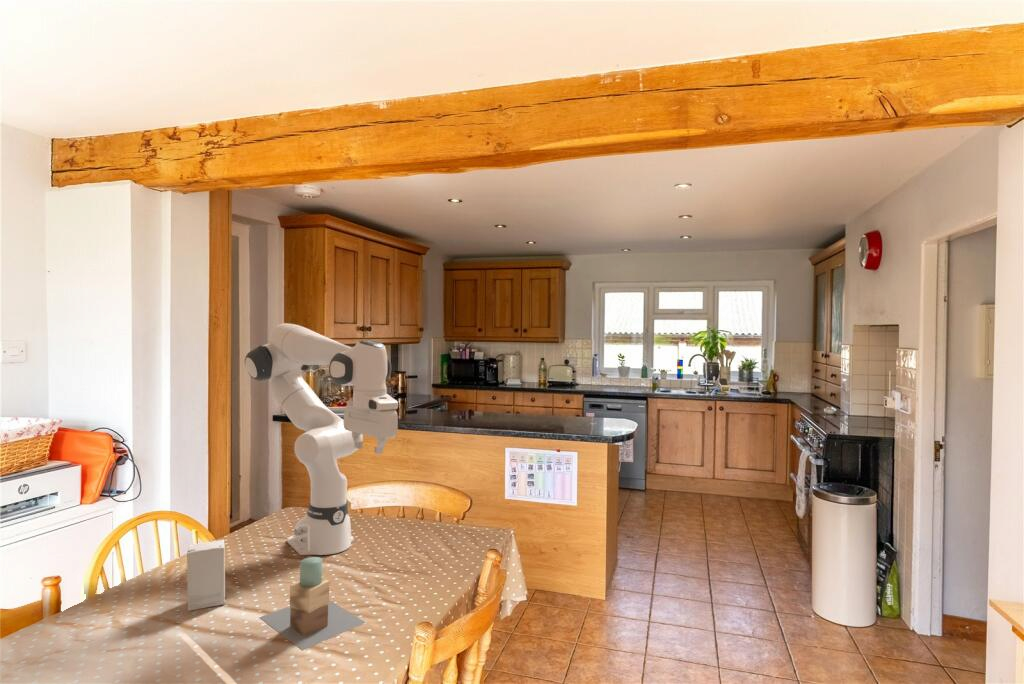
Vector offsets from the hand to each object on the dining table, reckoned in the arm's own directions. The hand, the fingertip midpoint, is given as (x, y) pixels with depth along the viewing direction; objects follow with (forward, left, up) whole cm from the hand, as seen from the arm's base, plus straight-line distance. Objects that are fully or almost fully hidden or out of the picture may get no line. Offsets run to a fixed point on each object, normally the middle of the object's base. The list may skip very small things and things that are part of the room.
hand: (368, 450), depth 150 cm
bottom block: (+10, -22, -36) cm, 43 cm away
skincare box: (-20, -33, -37) cm, 54 cm away
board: (+8, -20, -37) cm, 43 cm away
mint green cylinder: (+10, -22, -26) cm, 35 cm away
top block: (+10, -22, -31) cm, 39 cm away
